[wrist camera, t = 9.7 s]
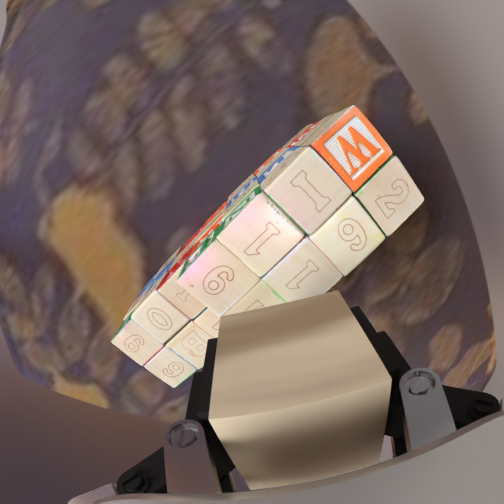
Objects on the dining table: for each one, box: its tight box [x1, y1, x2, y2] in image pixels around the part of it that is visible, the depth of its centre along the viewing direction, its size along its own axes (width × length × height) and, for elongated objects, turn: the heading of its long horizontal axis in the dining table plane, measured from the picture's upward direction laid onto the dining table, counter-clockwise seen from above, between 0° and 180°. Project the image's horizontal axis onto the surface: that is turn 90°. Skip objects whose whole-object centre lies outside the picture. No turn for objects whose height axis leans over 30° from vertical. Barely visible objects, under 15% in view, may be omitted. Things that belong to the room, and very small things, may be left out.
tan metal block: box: [208, 290, 392, 490], centre depth 9 cm, size 4×4×5 cm
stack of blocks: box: [111, 105, 424, 388], centre depth 21 cm, size 21×6×12 cm, turn 134°
